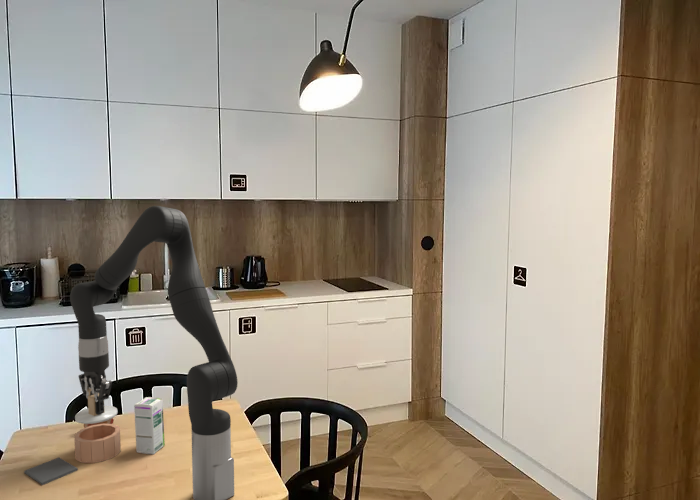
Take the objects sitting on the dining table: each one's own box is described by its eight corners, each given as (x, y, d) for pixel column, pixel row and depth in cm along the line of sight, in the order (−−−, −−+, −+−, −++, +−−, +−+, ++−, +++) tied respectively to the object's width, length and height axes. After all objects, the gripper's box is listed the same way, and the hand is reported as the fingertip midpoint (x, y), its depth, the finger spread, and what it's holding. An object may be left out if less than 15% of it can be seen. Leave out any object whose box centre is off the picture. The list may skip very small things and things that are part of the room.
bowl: (128, 450, 152) (128, 430, 151) (89, 467, 143) (88, 445, 142) (106, 439, 159) (105, 420, 158) (67, 454, 149) (66, 434, 149)
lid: (125, 413, 150) (124, 394, 150) (88, 427, 142) (87, 406, 141) (104, 405, 157) (103, 386, 156) (67, 417, 148) (66, 397, 147)
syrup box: (154, 454, 150) (152, 405, 148) (135, 452, 151) (133, 403, 149) (165, 445, 155) (163, 398, 154) (146, 443, 156) (145, 396, 155)
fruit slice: (80, 438, 160) (79, 422, 159) (90, 428, 166) (89, 413, 166) (108, 437, 160) (107, 422, 159) (117, 428, 167) (116, 412, 166)
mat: (77, 470, 141) (77, 468, 141) (42, 485, 133) (42, 482, 133) (59, 459, 147) (59, 457, 146) (24, 472, 139) (24, 470, 139)
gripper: (120, 353, 147) (122, 413, 148) (93, 345, 155) (95, 402, 156) (94, 359, 140) (97, 422, 142) (67, 351, 149) (70, 410, 150)
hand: (96, 411), depth 149 cm, fingers closed on lid, 3 cm apart
